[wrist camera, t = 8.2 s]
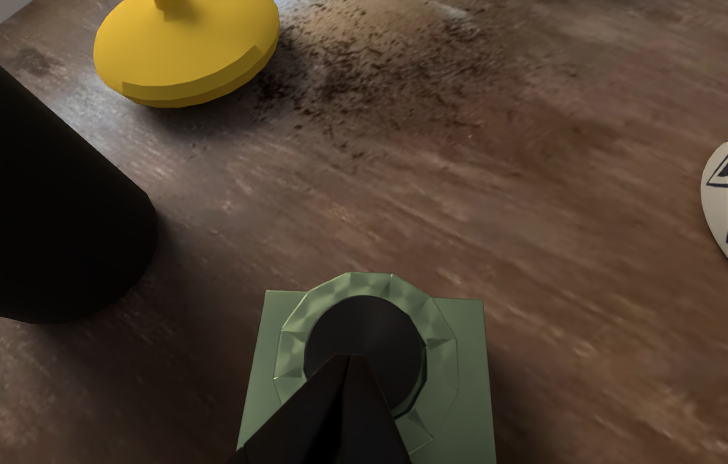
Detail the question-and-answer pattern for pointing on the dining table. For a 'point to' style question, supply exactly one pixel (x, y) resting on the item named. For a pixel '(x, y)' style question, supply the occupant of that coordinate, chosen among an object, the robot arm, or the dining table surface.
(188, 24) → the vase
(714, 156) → the planter
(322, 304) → the push button box
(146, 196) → the coffee jar
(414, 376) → the button
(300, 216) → the dining table surface
